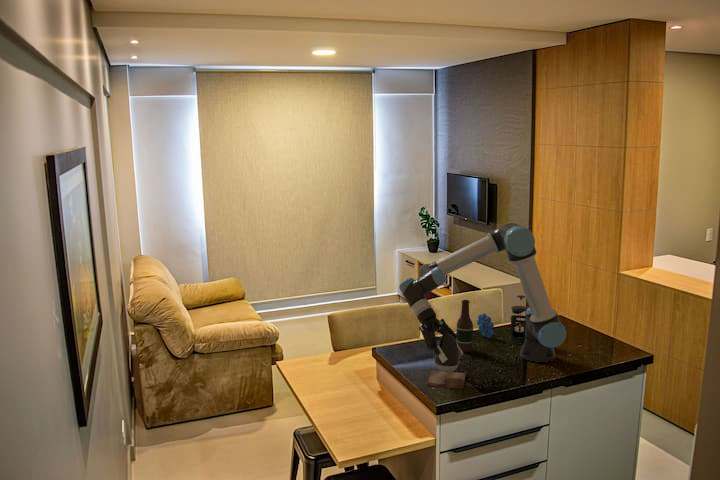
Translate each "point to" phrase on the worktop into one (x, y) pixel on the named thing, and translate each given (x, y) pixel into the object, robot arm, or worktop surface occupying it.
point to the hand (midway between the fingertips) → (453, 358)
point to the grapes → (485, 325)
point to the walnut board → (447, 379)
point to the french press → (517, 330)
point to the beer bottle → (465, 329)
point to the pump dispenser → (447, 353)
